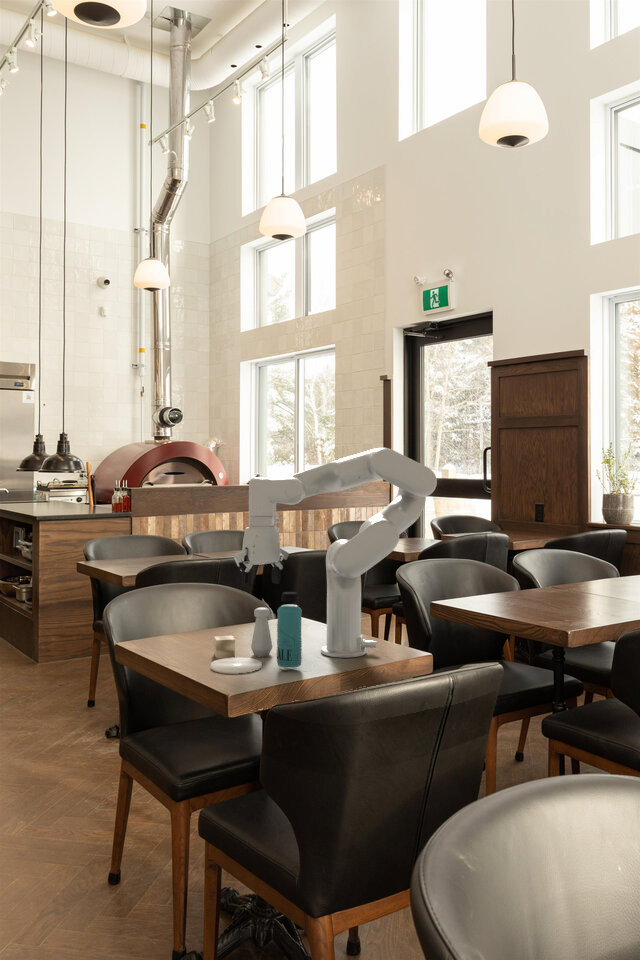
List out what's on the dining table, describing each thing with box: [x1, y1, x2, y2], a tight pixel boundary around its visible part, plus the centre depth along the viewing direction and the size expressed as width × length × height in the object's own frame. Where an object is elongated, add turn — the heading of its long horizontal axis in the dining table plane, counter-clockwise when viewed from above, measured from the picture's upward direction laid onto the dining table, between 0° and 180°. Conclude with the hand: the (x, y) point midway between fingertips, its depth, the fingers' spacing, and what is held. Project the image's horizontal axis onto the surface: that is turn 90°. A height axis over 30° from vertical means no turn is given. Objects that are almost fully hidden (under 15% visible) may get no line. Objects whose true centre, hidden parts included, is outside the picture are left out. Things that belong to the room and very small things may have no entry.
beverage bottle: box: [276, 591, 303, 668], centre depth 206 cm, size 6×7×20 cm
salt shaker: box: [250, 606, 273, 658], centre depth 222 cm, size 6×6×13 cm
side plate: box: [210, 657, 262, 675], centre depth 208 cm, size 13×13×1 cm
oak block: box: [213, 635, 236, 659], centre depth 221 cm, size 5×5×5 cm
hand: (261, 584), depth 221 cm, fingers open, 9 cm apart
